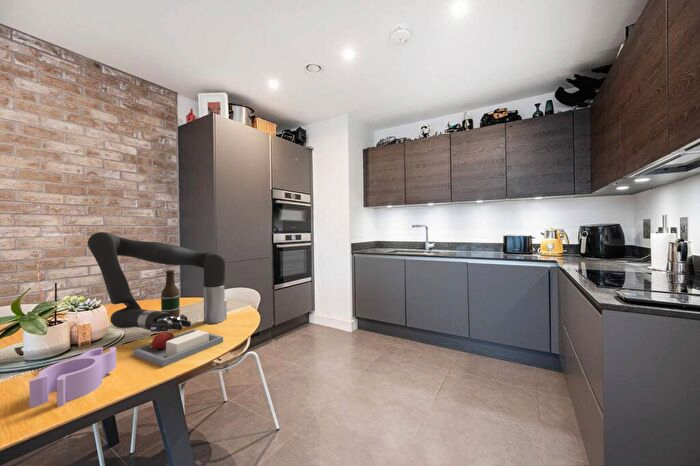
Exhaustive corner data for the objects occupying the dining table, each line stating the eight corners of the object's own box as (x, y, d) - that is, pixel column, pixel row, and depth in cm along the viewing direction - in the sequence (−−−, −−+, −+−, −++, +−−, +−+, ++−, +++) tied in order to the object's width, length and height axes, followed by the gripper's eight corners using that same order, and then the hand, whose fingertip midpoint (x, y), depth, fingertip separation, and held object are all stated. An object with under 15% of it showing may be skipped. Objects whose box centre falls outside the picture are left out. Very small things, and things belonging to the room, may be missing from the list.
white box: (198, 343, 107) (198, 330, 107) (208, 345, 105) (208, 332, 105) (166, 355, 97) (166, 341, 97) (177, 359, 94) (176, 344, 94)
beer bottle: (157, 319, 138) (156, 271, 138) (170, 314, 146) (169, 269, 145) (171, 320, 137) (170, 271, 136) (183, 315, 144) (182, 269, 144)
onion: (175, 337, 101) (151, 352, 96) (178, 343, 105) (155, 357, 100) (168, 325, 103) (143, 339, 98) (171, 331, 107) (148, 345, 102)
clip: (88, 369, 90) (87, 347, 90) (128, 367, 91) (128, 346, 91) (18, 408, 70) (17, 381, 70) (70, 407, 71) (70, 379, 71)
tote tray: (194, 336, 117) (193, 329, 117) (223, 344, 108) (223, 336, 108) (133, 357, 97) (133, 349, 97) (163, 370, 89) (163, 360, 89)
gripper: (135, 316, 104) (167, 321, 98) (170, 306, 118) (201, 310, 112) (135, 336, 105) (168, 342, 99) (171, 324, 118) (201, 329, 112)
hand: (185, 325), depth 105 cm, fingers open, 3 cm apart
